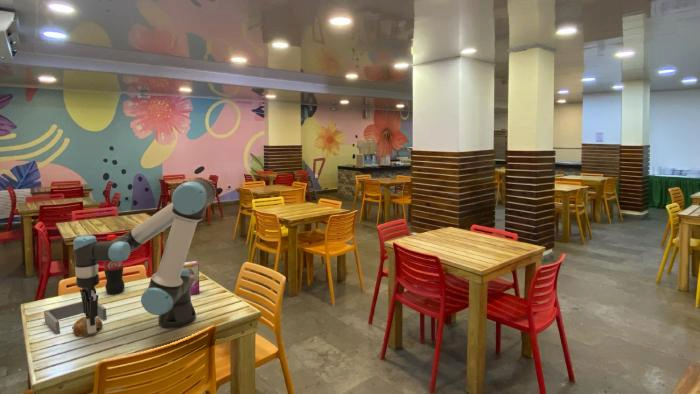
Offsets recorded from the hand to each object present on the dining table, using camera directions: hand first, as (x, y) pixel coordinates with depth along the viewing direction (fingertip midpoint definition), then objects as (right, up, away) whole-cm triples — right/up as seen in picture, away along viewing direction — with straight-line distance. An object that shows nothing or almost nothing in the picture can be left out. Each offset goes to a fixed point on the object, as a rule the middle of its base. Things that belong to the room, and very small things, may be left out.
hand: (92, 332), depth 164 cm
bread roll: (-4, -1, +4) cm, 6 cm away
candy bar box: (+21, +4, +44) cm, 49 cm away
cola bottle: (-17, +5, +46) cm, 49 cm away
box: (-15, +1, +13) cm, 20 cm away
